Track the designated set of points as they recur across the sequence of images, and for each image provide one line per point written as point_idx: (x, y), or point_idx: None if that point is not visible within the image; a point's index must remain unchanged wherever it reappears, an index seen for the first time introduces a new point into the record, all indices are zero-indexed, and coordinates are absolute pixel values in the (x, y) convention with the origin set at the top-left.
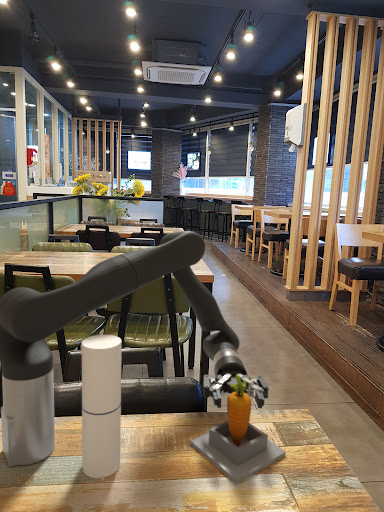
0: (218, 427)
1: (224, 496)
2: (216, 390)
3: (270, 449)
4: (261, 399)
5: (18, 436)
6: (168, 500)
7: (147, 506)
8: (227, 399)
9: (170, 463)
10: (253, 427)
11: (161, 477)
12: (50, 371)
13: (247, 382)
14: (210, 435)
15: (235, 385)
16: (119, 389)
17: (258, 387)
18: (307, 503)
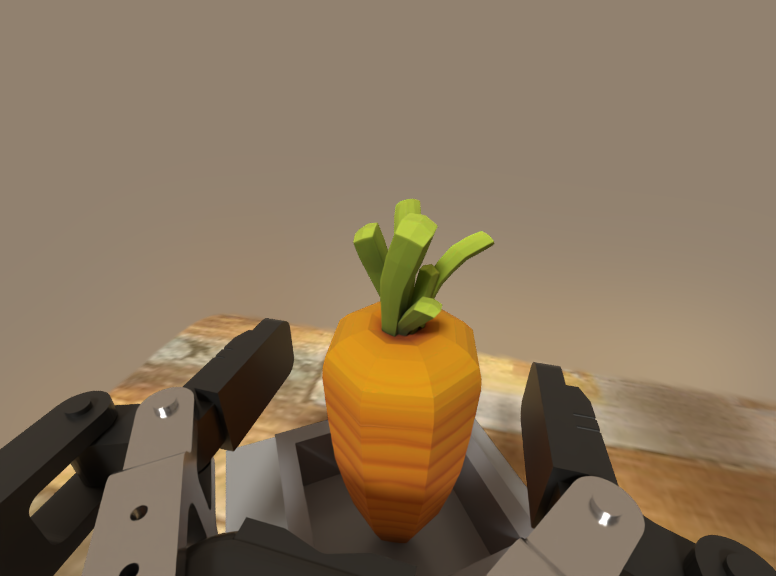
0: (497, 553)
1: (490, 376)
2: (584, 463)
3: (269, 475)
4: (273, 319)
5: None
6: (635, 393)
7: (684, 390)
8: (480, 388)
9: (695, 527)
10: (297, 503)
11: (696, 466)
12: None
13: (184, 488)
14: None
15: (429, 300)
16: None
17: (164, 402)
18: (316, 334)
